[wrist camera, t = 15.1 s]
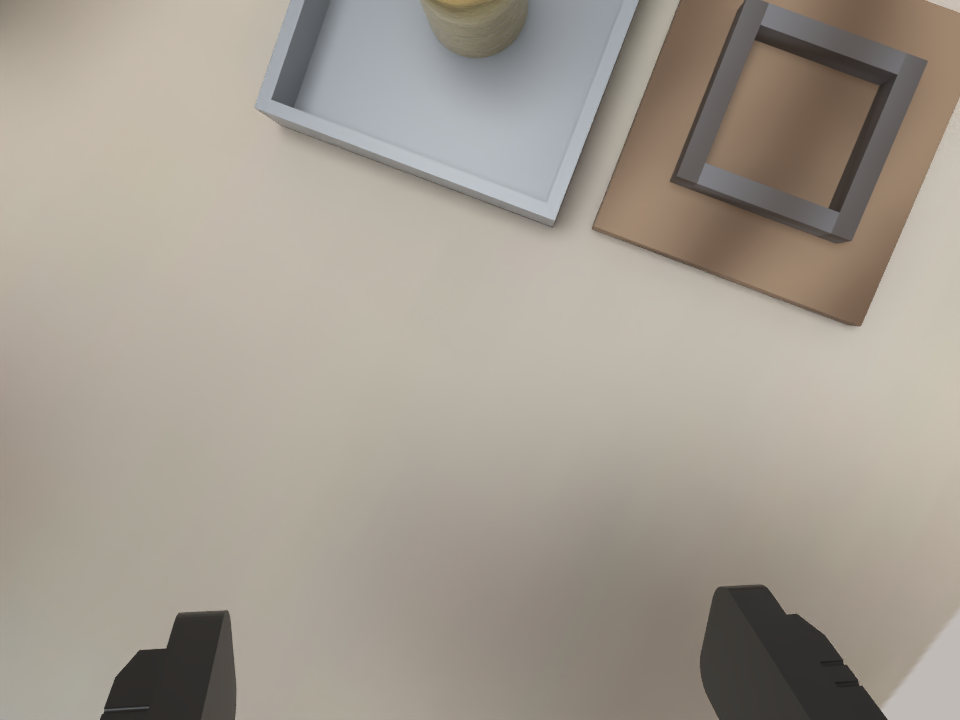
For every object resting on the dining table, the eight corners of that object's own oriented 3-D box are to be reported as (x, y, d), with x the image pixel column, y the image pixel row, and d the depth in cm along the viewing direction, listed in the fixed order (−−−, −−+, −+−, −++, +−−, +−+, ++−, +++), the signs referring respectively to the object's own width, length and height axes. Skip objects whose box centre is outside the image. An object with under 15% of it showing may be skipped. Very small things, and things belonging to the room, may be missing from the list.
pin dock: (591, 228, 32) (596, 222, 30) (704, -63, 31) (720, -96, 28) (848, 325, 32) (877, 328, 29) (972, 34, 31) (1014, 10, 28)
